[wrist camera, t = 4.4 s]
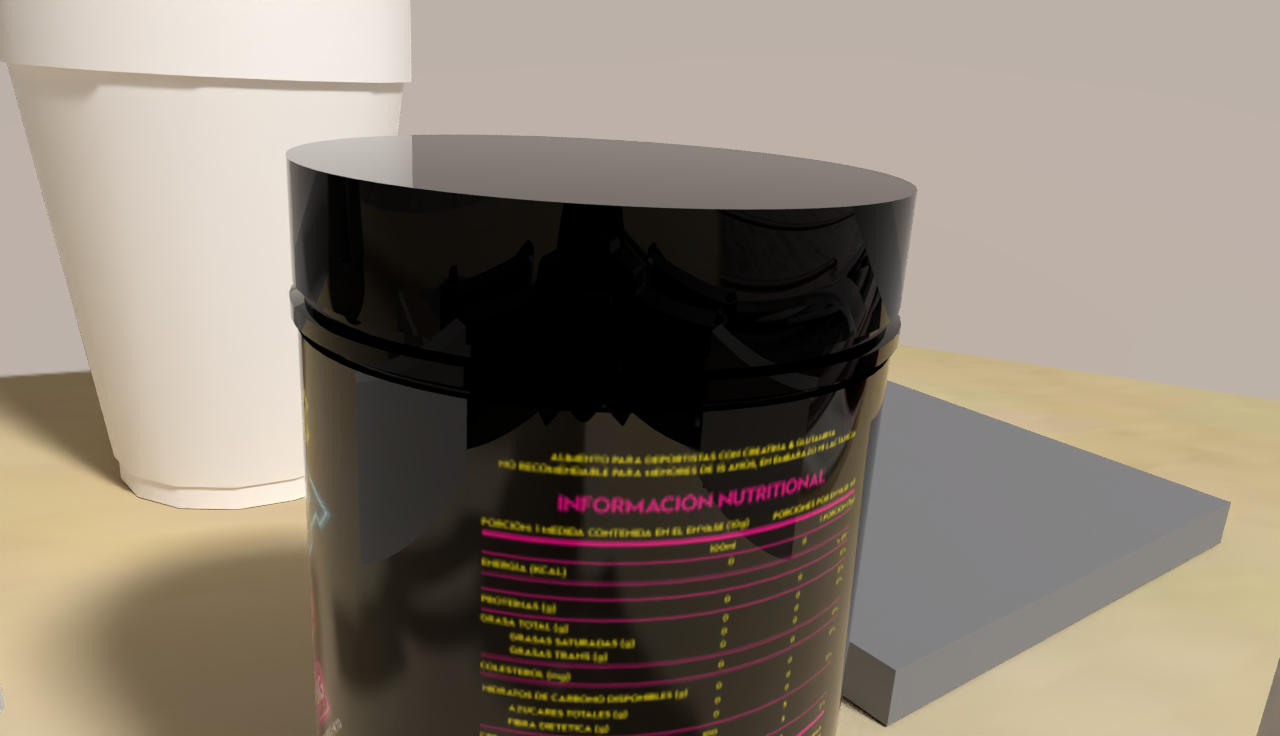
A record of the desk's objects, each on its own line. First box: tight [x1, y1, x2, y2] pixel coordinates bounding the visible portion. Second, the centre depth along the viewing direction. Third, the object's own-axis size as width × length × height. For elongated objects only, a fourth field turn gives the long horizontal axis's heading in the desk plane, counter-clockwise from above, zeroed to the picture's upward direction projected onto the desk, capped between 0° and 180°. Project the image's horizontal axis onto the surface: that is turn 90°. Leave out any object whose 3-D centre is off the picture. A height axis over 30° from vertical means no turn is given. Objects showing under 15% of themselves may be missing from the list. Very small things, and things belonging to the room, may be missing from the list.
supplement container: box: [285, 135, 917, 736], centre depth 12 cm, size 7×7×10 cm
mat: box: [842, 380, 1231, 726], centre depth 27 cm, size 14×14×1 cm
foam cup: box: [0, 0, 411, 509], centre depth 26 cm, size 10×9×13 cm
